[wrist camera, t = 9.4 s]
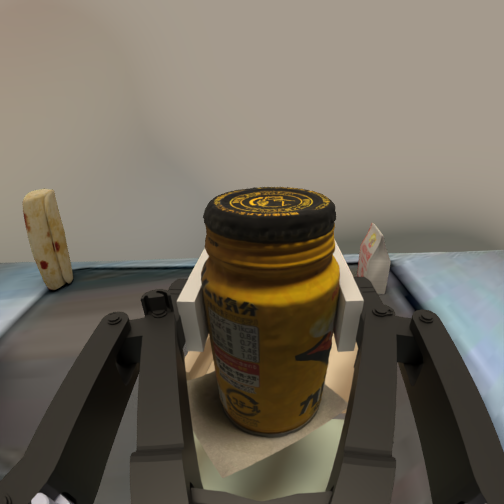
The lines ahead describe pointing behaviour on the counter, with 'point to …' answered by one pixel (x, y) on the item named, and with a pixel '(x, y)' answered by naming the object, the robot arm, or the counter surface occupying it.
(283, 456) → the open-front wooden tray
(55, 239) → the food model
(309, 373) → the condiment
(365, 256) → the tea bag
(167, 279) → the counter surface
